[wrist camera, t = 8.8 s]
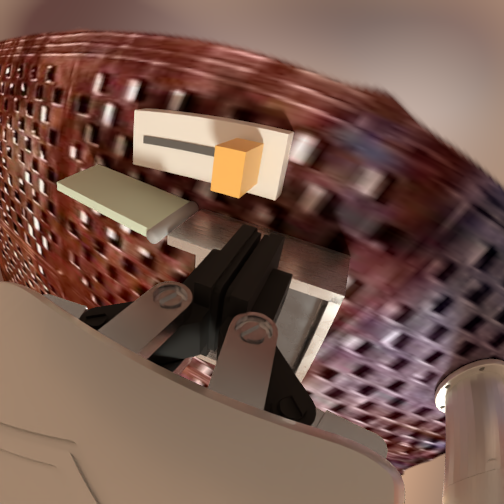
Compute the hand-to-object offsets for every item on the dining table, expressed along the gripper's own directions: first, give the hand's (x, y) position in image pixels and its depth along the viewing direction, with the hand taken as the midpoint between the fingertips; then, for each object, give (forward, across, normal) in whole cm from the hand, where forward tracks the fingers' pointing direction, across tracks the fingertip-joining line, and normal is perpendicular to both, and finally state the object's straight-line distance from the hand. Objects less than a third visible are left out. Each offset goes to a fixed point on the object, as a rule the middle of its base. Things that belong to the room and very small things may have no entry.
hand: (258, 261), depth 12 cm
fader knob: (+14, +6, 0) cm, 15 cm away
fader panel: (+16, +10, 0) cm, 19 cm away
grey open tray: (+16, +3, +15) cm, 22 cm away
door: (+16, +19, +7) cm, 25 cm away
